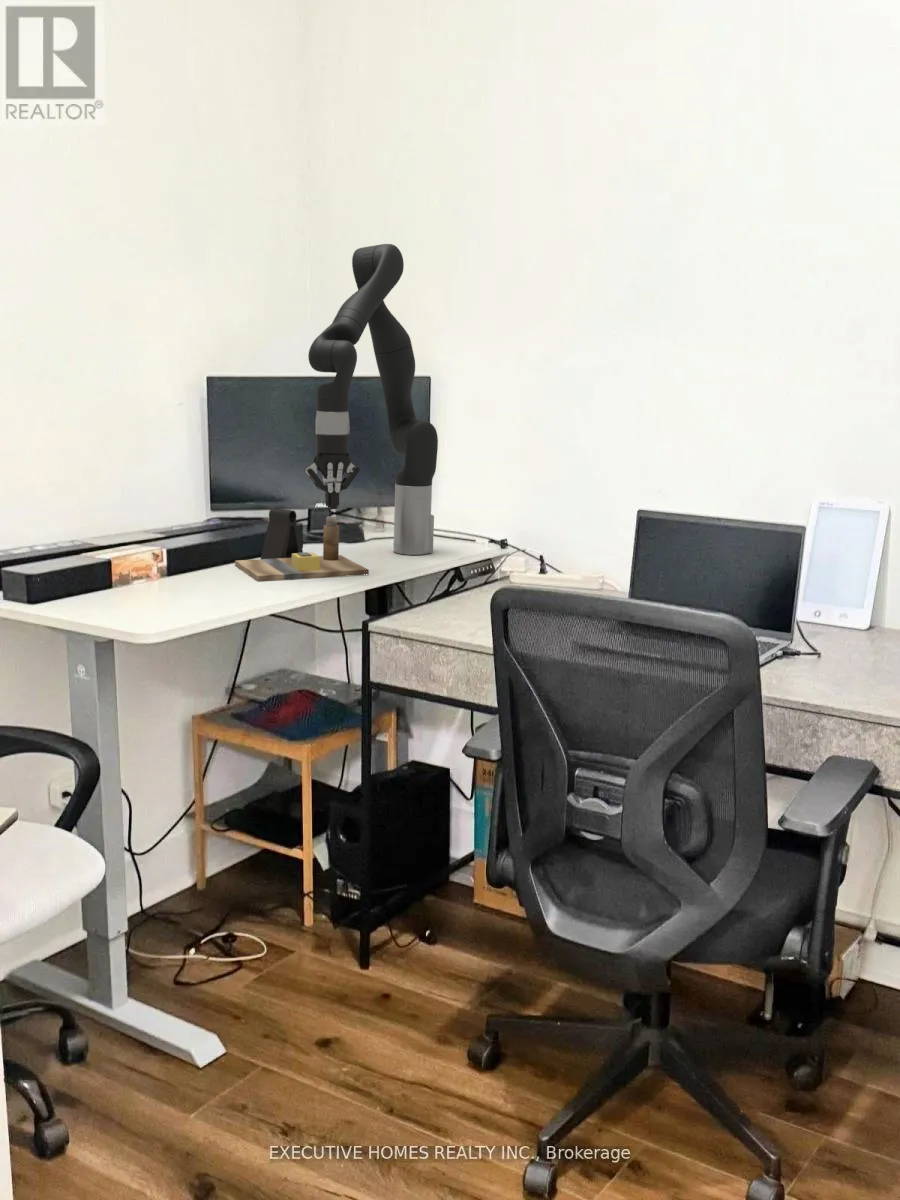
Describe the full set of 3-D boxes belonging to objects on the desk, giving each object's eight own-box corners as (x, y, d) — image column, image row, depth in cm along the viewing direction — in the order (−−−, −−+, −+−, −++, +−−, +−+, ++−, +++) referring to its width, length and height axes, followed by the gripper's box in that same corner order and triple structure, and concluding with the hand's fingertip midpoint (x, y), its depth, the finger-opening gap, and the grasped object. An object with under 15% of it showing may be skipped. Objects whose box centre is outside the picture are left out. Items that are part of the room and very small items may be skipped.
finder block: (312, 565, 268) (312, 551, 267) (319, 569, 263) (319, 555, 263) (291, 566, 266) (291, 552, 265) (298, 570, 261) (298, 556, 261)
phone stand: (279, 563, 275) (280, 513, 272) (260, 560, 278) (260, 510, 275) (304, 558, 282) (304, 508, 280) (284, 554, 286) (285, 506, 283)
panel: (340, 560, 282) (340, 555, 281) (368, 574, 266) (368, 569, 266) (235, 565, 270) (235, 560, 270) (257, 581, 255) (257, 575, 254)
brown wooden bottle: (335, 557, 278) (335, 515, 276) (340, 560, 275) (341, 518, 273) (321, 557, 277) (321, 516, 275) (326, 560, 274) (326, 518, 271)
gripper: (353, 429, 266) (353, 505, 270) (298, 430, 260) (298, 507, 264) (366, 432, 260) (365, 509, 263) (310, 433, 254) (310, 512, 258)
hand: (332, 508), depth 264 cm, fingers closed
